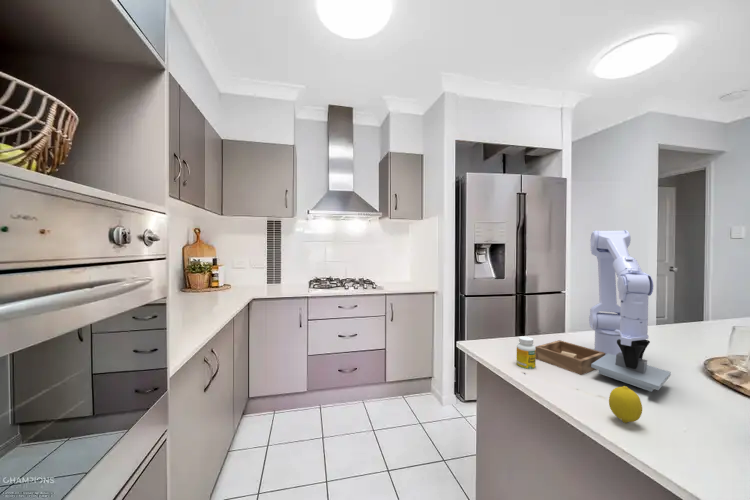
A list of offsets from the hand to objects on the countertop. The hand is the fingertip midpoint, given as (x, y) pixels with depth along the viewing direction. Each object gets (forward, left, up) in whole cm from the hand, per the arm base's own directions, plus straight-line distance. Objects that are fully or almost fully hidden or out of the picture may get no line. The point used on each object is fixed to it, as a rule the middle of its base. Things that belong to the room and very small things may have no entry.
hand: (632, 366), depth 81 cm
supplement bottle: (+16, -21, -6) cm, 27 cm away
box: (+1, -16, -5) cm, 17 cm away
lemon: (+23, +7, -6) cm, 25 cm away
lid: (0, -1, -3) cm, 3 cm away
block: (0, -17, -4) cm, 18 cm away
